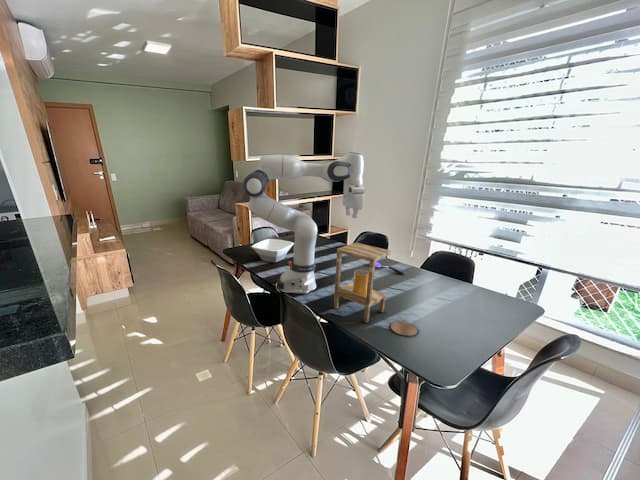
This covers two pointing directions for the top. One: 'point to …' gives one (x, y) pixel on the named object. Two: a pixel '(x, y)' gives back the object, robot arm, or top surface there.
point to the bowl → (272, 249)
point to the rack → (372, 295)
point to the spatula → (388, 267)
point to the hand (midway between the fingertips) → (351, 216)
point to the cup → (360, 282)
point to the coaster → (403, 329)
